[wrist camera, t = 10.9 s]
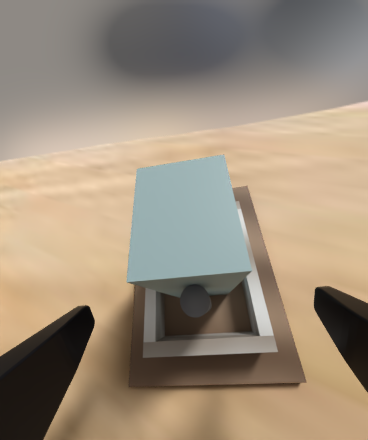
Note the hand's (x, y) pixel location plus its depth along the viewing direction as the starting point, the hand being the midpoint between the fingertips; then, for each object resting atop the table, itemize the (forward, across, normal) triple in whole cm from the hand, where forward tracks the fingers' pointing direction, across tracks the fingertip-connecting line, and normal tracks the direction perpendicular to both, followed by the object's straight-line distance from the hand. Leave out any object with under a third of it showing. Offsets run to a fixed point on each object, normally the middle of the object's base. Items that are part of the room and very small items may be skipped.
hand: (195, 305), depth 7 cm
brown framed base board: (+8, 0, +4) cm, 9 cm away
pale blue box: (+8, 0, +3) cm, 9 cm away
